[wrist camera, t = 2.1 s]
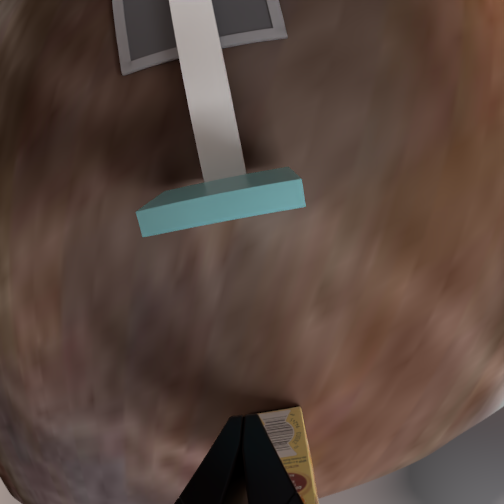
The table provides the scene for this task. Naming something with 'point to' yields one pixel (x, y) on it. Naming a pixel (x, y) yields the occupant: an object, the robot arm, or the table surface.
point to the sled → (214, 140)
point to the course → (163, 37)
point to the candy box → (292, 449)
